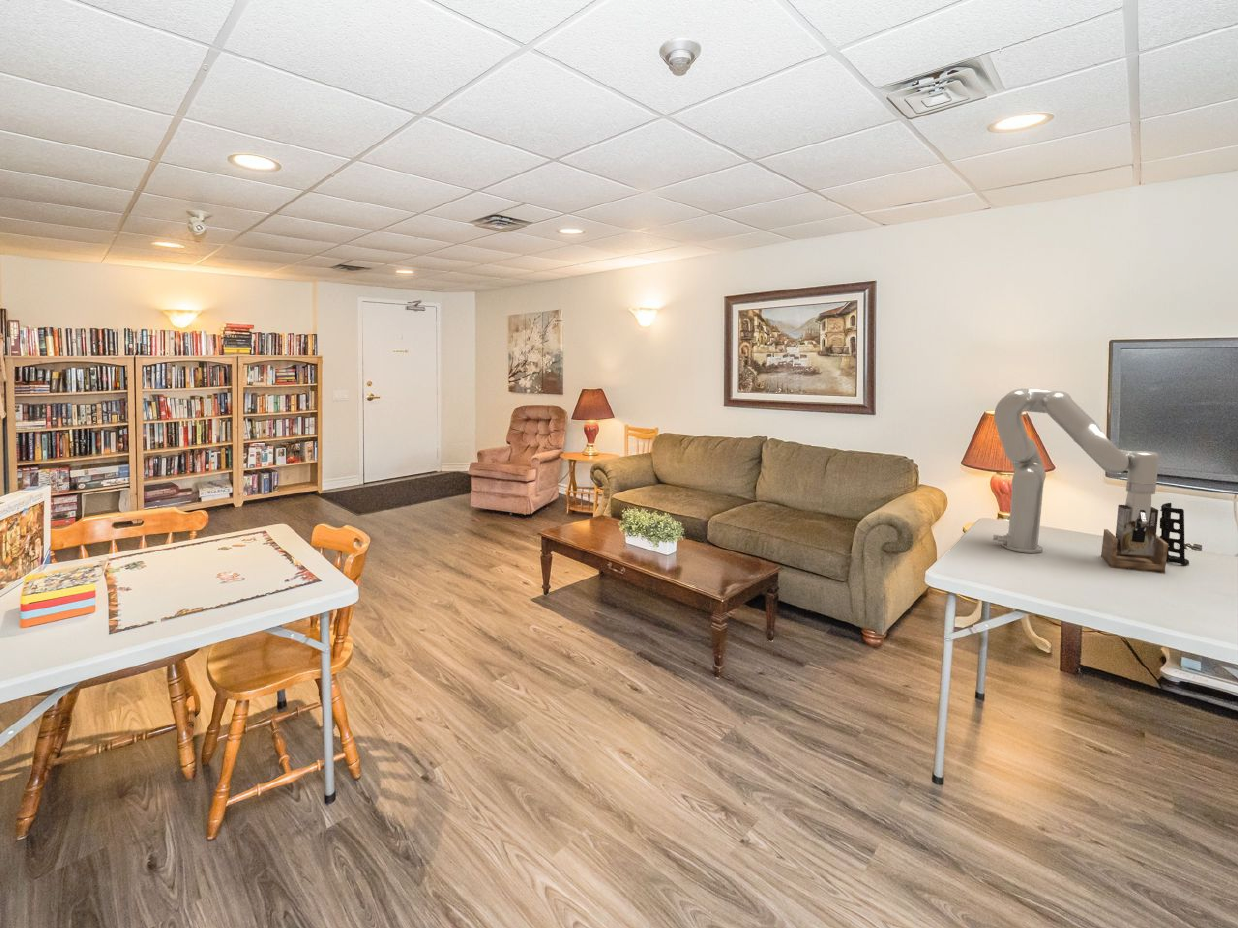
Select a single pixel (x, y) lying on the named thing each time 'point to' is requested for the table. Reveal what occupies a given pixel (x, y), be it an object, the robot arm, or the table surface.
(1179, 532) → the holder
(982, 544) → the table surface
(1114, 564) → the cradle
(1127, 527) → the coffee box
